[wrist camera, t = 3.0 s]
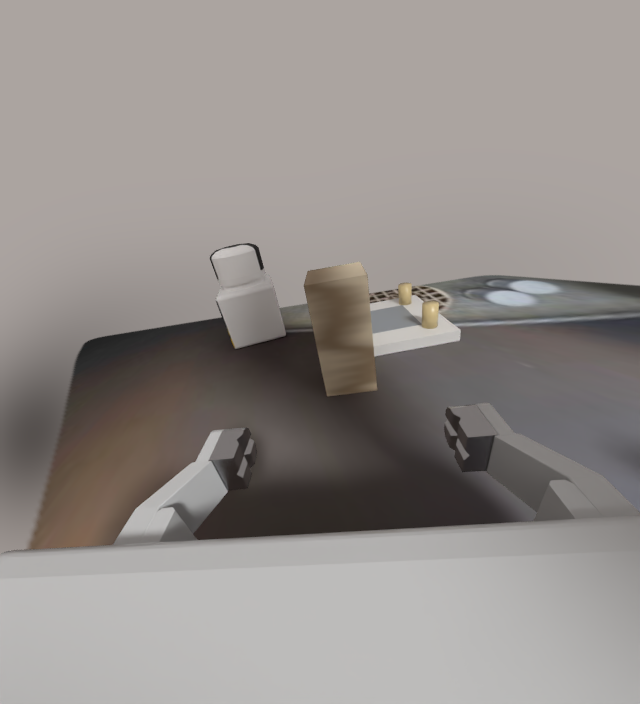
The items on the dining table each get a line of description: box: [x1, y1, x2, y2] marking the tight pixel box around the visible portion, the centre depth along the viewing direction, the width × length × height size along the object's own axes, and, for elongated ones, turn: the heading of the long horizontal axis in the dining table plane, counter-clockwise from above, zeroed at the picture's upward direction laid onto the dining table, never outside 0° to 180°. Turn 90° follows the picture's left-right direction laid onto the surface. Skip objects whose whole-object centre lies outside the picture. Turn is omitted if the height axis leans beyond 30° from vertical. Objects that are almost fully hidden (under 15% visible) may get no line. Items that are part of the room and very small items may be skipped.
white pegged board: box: [370, 283, 461, 356], centre depth 32 cm, size 12×12×4 cm
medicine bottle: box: [210, 243, 286, 349], centre depth 35 cm, size 7×7×12 cm
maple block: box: [304, 262, 377, 397], centre depth 22 cm, size 4×4×10 cm
